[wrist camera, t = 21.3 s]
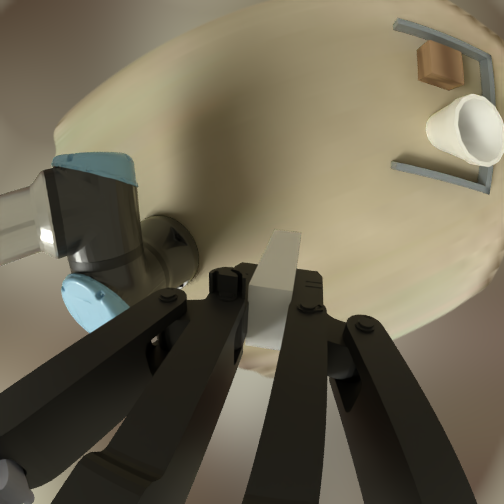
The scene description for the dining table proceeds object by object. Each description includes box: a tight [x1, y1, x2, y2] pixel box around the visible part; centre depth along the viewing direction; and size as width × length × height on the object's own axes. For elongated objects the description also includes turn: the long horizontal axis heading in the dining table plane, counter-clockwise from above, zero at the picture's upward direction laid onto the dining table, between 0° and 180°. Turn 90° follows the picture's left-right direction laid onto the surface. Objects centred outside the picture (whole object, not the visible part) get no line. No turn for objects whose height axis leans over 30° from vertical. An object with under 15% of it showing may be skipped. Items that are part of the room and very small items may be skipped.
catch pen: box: [391, 18, 496, 194], centre depth 30 cm, size 19×26×3 cm
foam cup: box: [426, 94, 504, 167], centre depth 28 cm, size 10×9×13 cm
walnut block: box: [417, 40, 464, 90], centre depth 27 cm, size 6×6×6 cm
